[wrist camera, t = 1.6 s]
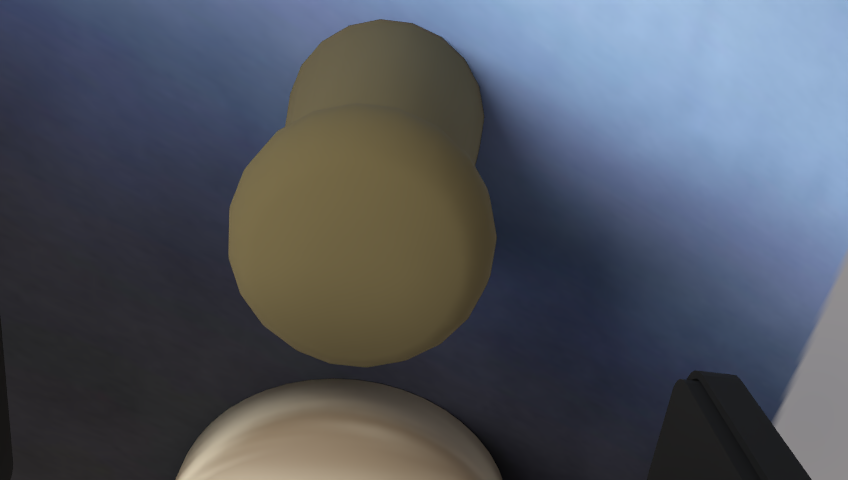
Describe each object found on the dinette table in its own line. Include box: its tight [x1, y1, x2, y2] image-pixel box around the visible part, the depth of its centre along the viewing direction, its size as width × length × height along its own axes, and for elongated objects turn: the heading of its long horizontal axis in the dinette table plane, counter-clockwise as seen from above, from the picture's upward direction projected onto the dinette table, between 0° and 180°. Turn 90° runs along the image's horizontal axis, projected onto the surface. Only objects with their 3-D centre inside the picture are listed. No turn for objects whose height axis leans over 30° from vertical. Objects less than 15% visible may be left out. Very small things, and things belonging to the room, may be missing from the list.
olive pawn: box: [229, 19, 497, 367], centre depth 18 cm, size 6×6×11 cm
